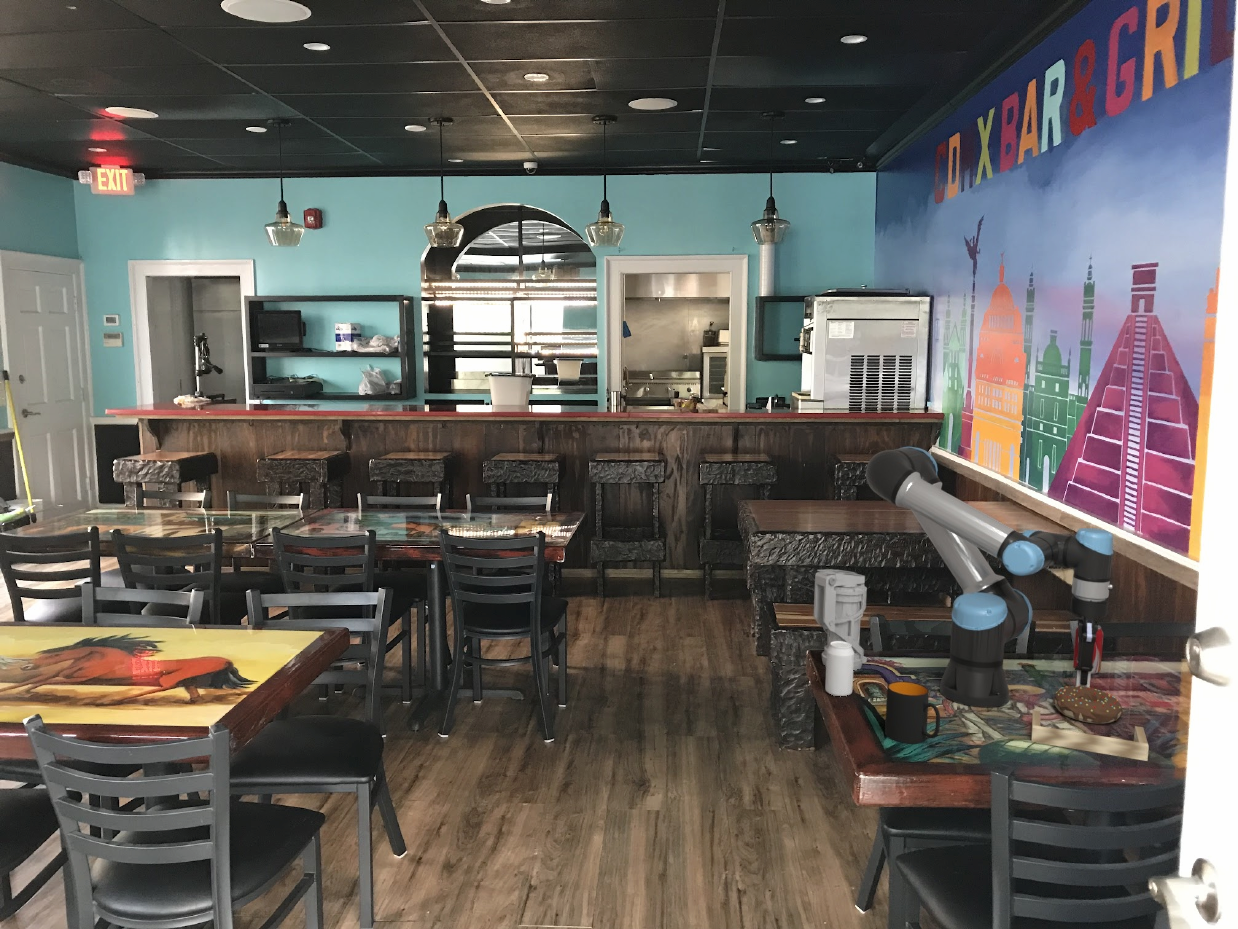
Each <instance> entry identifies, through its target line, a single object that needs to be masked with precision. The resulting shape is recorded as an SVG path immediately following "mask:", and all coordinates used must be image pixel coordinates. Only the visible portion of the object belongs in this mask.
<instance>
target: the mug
mask: <svg viewBox="0 0 1238 929" xmlns="http://www.w3.org/2000/svg"><path fill="white" fill-rule="evenodd" d="M886 687H887V689H886V690H887V691H886V702H885V703H886V704H885V707H886V708H885V722H884V723H885V726H884V728H885V729H884V734H885V736H886V737H887V738H888V739H890V740H892V741H893V740H894V741H893V742H897V743H899V742H900V743H901V744H906V745H917V744H918V745H919V744H922V743H925V741H926V740H927V739H928V738H929V739H934V738H935V739H936V737H937V736H938V735H939V733H940V728H941V715H940V711H939V708H938V707H937V705H936V704H934V703H932V702H929V695H930V694H929V693H930V690H929V688H928V687H927V686H924V685H922V684H921V683H918V682H917V683H916V682H913V681H904V680H903V681H902V680H900V681H893V682H890V683H888V684H887V686H886ZM929 708H932V709H933V710H934V713H935V730H934V731H933V733H929V732H928V731H927V729H928V717H929V716H928V714H929V713H928V712H929Z"/></svg>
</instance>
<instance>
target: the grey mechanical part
mask: <svg viewBox="0 0 1238 929" xmlns="http://www.w3.org/2000/svg"><path fill="white" fill-rule="evenodd" d="M816 571H817V572H816V573H815V578H814V595H813V596H814V600H813V619H815V622H817V624H818V625H819V627H822V628H823V631H824V632H825V633H826V635H827V638H826V639H827V640H826V644H825V646H823V647H824V649H823V650H824V651H822V653H821V660H822V664H823V665H825V666H824V667H826V660H827V649H828V648H829V646H830V643H831V642H834V641H843V642H848V643H850V644H851V645H852V649H853V651H854V668H853V670H855V671H858V670H857V669H859V670H860V669H861V668H862V667H863V664H865V663H867V661H868V658H867V657H866V656H864V654H865V649H864V648H862V646H861V645H860V636H861V635H860V632H861V618H862V617H863V616H864V612H865V610H866V608H867V590H868V588H867V586H865V581H866V576H865V575H862V574H858V573H857V572H854V571H849V570H842V569H833V568H831V569H829V568H828V569H817V570H816Z"/></svg>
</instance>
